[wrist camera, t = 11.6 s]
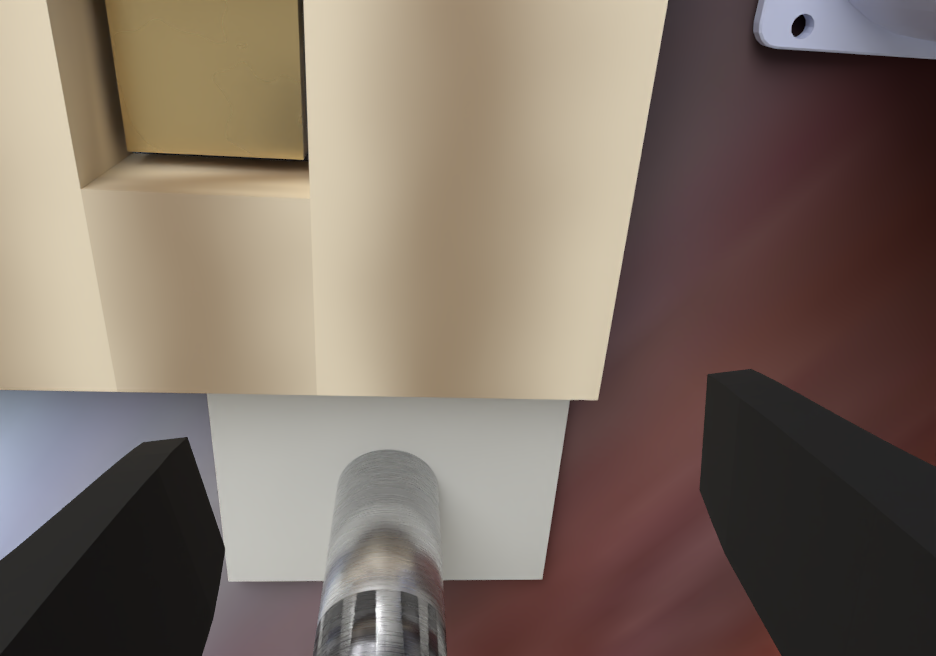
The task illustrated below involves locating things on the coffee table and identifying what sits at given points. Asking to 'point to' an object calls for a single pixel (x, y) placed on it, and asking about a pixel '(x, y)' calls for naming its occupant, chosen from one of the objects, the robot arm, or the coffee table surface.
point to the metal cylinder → (384, 561)
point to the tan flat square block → (211, 76)
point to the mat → (378, 428)
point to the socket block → (332, 209)
